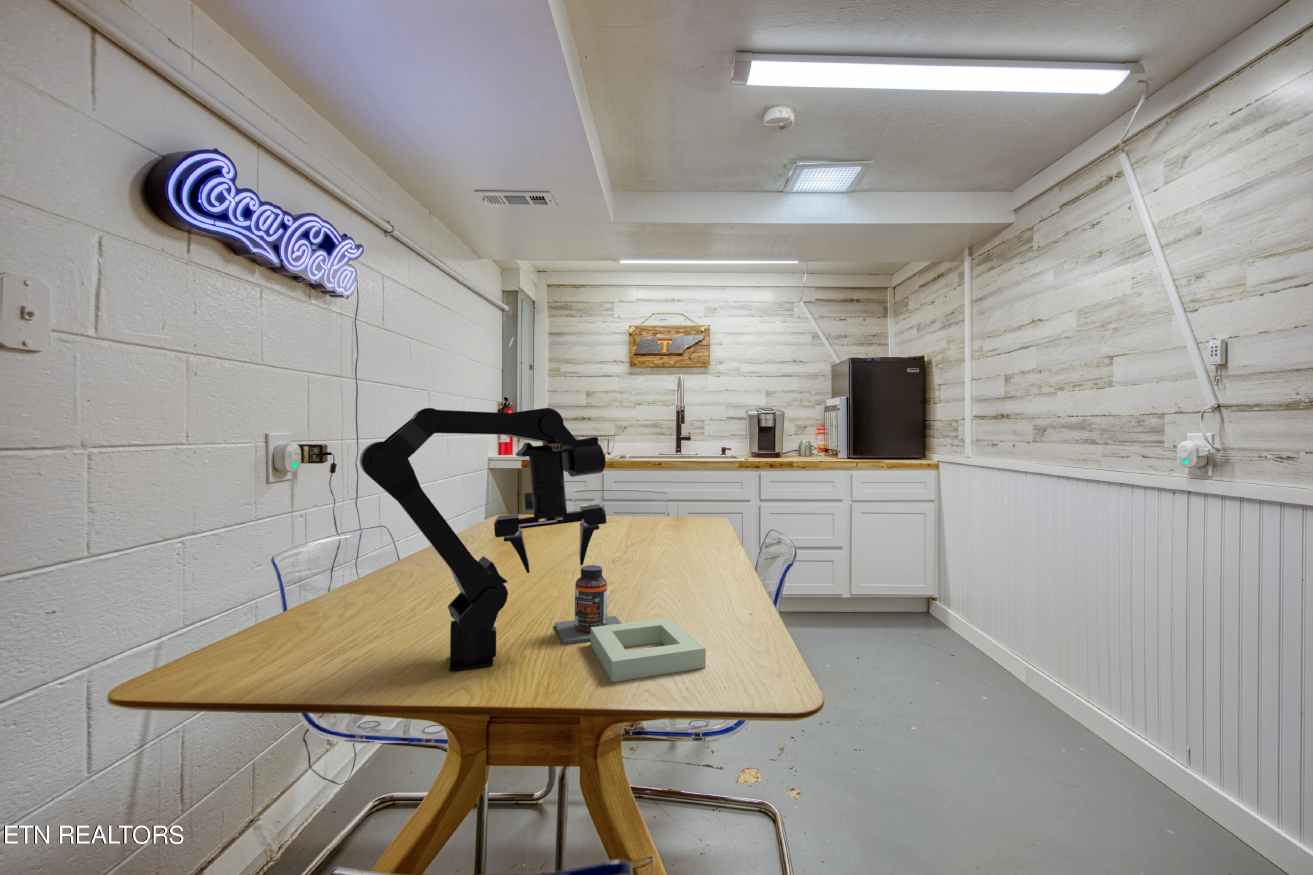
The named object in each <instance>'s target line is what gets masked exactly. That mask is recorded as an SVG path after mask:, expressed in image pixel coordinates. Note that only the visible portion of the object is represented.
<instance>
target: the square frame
mask: <svg viewBox="0 0 1313 875" xmlns="http://www.w3.org/2000/svg"><path fill="white" fill-rule="evenodd" d="M659 643H661V644H662V645H661V646H654V647H647V648H640V649H632V650H626V649H625V648H629V647H635V646H643V645H649V644H650V645H651V644H659ZM590 646H591V648H592V650H593V651H594V653H595V655H596V657H597V658H598V660H599V662H600V664H601V666H602V667H603V669H604V670H605V671H606V674H607V675H608V677H609V679H610V680H611V682H612V683H616V682H623V681H628V680H635V679H641V678H649V677H654V676H661V675H667V674H673V673H680V672H686V671H687V672H688V671H691V670H700V669H704V668H706V667H707V665H706V660H707V657H706V655H707V654H706V652H707V650H706V649H707V648H706V647H705V646H704V645H703V644H701V643H700V642H699V641H698V640H697V639H696V638H695V637H694V636H692V635H691V634H690V633H689V632H688V631H687V630H685V629H684V628H683V627H682V626H681V625H680V624H679V623H677V621H675V620H674V619H673V618H672V617H667V618H666V617H665V618H659V619H649V620H642V621H640V620H639V621H633V622H625V623H622V624H614V625H606V626H597V627H591V641H590Z"/></svg>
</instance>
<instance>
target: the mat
mask: <svg viewBox="0 0 1313 875" xmlns="http://www.w3.org/2000/svg"><path fill="white" fill-rule="evenodd" d="M614 624H623V623H622V622H621V621H620V620H619V619H618V617H617V616H616V615H610V616H607V622H606V625H614ZM554 627H555V629H556V632H557V634H558V637H559V639H560V641H561V642H562V645H564V646H565V645H569V644H570V645H571V644H572V645H573V644H578V643H588V642H591V633H586V632H581V631H578V630H577V629H576V628H575V619H574V620H565V621H558V622H557V621H556V622H554Z"/></svg>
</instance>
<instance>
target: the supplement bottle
mask: <svg viewBox="0 0 1313 875" xmlns="http://www.w3.org/2000/svg"><path fill="white" fill-rule="evenodd" d="M574 584H575V585H574V586H575V589H574V620H575V628H576V629H577V630H578V631H581V632H586V633H591V627H597V626H606V622H607V617H608V616H607V612H608V611H607V608H608V607H607V606H608V605H607V604H608V601H607V600H608V583H607V579H606V578H605V577H604V576H603V567H602V566H601V565H596V564H592V565H591V564H587V565H582V566H581V567H580V577H578V578H577V580H576V581H575V583H574Z"/></svg>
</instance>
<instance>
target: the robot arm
mask: <svg viewBox="0 0 1313 875" xmlns="http://www.w3.org/2000/svg"><path fill="white" fill-rule="evenodd" d="M434 434H448V435H450V434H454V435H456V434H458V435H494V436H495V435H499V436H500V435H501V436H502V435H503V436H507V437H512V438H516V439H520V440H524V441H530V442H524V443H523V445H522V447H521V448H520V449H519V450H518V451H517V452H516V453H515V457H518V458H519V457H520V458H527V457H528V466H529V476H530V478H529V479H530V488H531V492H524V493H523V496H524V498H523V499H524V507H525V512H533V516H527V517H520V514H519V513H513V514H511V513H510V514H503V515H498V516H497V518H496V519H495V520H494V524H493V526H494V529H493V530H494V537H495V538H503V542H510V544H511V545H512V547H513V548H514V550H515V551H516V553H517V554H518V556H519V558H520V561H521V563H522V565H523V567H524V570H525V571H526V573H527V574H530V573H531V572H530V562H529V558H528V554H527V549H526V544H525V541H524V540H525V538H524V534H523V529H533V528H539V527H545V526H546V527H547V526H553V525H554V526H555V525H563V524H572V523H579V556H578V557H579V565H580V566H584V563H585V558H586V554H587V551H588V546H589V544H590V542H591V539H592V537H593V535H594V534H593V533H594V532H595V531H596V530H597V531H598V530H600V525H604V524H607V515H606V514H607V513H606V509H604V508H603V506H601V505H600V504H599V503H597V504H590V505H589V504H587V505H581V506H580V509H579V510H578V511H569V512H568V509H567V498H566V496H567V495H566V486H565V485H566V484H565V474H564V472H565V473H567V474H568V475H569V476H570V477H571V478H575V477H582V476H587V475H596V474H597V475H598V474H602V473H603V472H604V470H605V467H606V454H605V453H604V449H603V447H602V446H601V444H600V443H599V438H598V436H591V437H589V436H588V437H586V438H581V439H576V438H575V436H574V435H573V433H571V431H570V430H569V429H568V427H567V426H566V425H565V424H564V419H563V417H562V415H561V414H560V413H559V411H558V410H557V409H555V408H552V407H542V408H535V409H530V410H521V411H515V412H513V411H512V412H498V411H497V412H496V411H495V412H494V411H469V410H449V409H446V410H445V409H436V408H432V407H426V408H422V409H420V410H418V411H416V412H415V413H414V414H413V416H412V417H411V418H410V419H409V420H407V422H406V423H404V424H403V425H402V426H401V427H399V428H398V429H396V430H395V431H394V432H393V433H391V434H390V435H389V437H387V438H386V439H384V441H376V442H375V441H374V442H372V443H370V444H368V445H367V446H365V447H364V449H363V450H362V452H361V453H360V456H359V466H360V468H361V470H362V471H363V472H364V474H366V475H367V476H368V477H369V478H370V479H371V480H372V481H373V482H374V483H376V484H377V485H378V486H379V487H380V488H382V490H384V491H385V492H386V493H387V494H389V495H390V497H392V498H393V499H394V500H395V501H396V502H398V504H399V505H400V507H402V509H403V510H404V511H405V513H406V514H407V515H408V517H409V518H410V519H411V520H412V522H413V524H414V525H415V526H416V527H417V528H418V529H419V531H420V532H421V534H422V535H423V536H424V537H425V538H426V540H427V542H428V543H430V546H432V547H433V550H435V551H436V553H437V554H438V555H439V556H440V557H441V559H442V561H444V563H445V564H446V566H448V568H449V569H450V571H451V574H452V576H453V579H454V581H455V584H456V586H457V587H458V590H459V591H460V592H459V593H458V595H456V596H455V598H454V599H453V600H451V602H450V603H449V604H448V605H447V609H448V612H449V614H450V617H451V618H452V619H453V620H451V623H450V627H449V628H450V634H449V635H450V637H449V640H450V644H449V651H450V652H449V655H450V656H449V664H448V671H451V672H454V671H460V670H462V671H463V670H468V669H476V668H483V667H490V666H494V658H496V656H497V627H496V626H495V622H496V621H497V617H498V615H499V612H500V611H501V610H502V609H503V608H504V606H505V605H506V603H507V601H508V596H509V592H508V591H509V590H508V589H507V586H506V585H505V584H507V583H508V580H507V579H506V578H505V577H503V576H502V575H501V574H500V573H499V571H498V569H497V567H496V565H495V564H494V562H493V561H491V560H490V559H488V558H487V557H486V556H484V555H483V556H482V557H481V558H479V560H477V559H476V558H474V556H473V555H472V554H471V552H470V551H469V550H468V549H467V547H466V546H465V544H464V542H462V540H461V539H460V538H459V536H458V535H457V534H456V532H455V531H454V530H453V528H452V527H451V526H450V525H449V523H448V522H447V520H446V519H445V518H444V517H443V515H442V514H441V513H440V511H439V510H438V509H437V507H436V506H435V505H434V503H433V502H432V501H431V500H430V498H429V497H428V495H427V494H426V493H425V492H424V490H423V488H422V487H421V485H420V482H419V480H418V477H417V475H416V473H415V470H414V468H413V466H412V463H411V462H410V460H409V458H410V457H411V456H412V455H414V454H415V453H416V452H417V451H418V450H419V449H421V447H422V446H423V445H424V444H425V443H426V442H427V441H428V440H429V439H430V438H431V437H432V436H433V435H434ZM531 442H536V443H537V442H538V443H539V442H540V443H541V442H543V443H545V444H544V445H543V444H542V445H541V444H540V445H533V444H532V443H531ZM551 446H552V447H553V446H554V447H555V446H556V447H557V446H558V447H559V446H561V447H562V448H561V449H553V448H552V447H551ZM543 519H544V520H543Z"/></svg>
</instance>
